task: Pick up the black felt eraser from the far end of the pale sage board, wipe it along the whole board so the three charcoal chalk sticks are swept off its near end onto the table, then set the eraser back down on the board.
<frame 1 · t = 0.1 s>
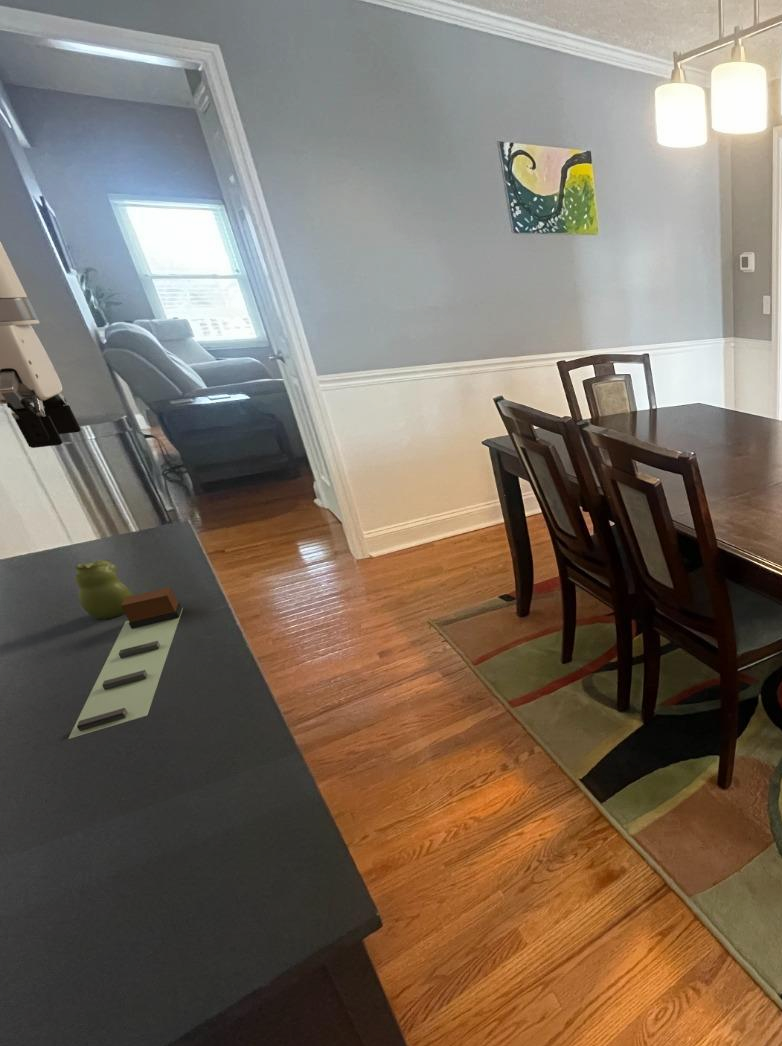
hand: (57, 439, 87), 28 cm above the table, tool pointing down, fingers open, 9 cm apart
board: (138, 668, 82), on the table
pear: (118, 618, 95), on the table
chalk b: (126, 682, 78), point 1 cm above the table, touching board
eraser: (157, 618, 93), point 1 cm above the table, touching board
chalk c: (104, 721, 71), point 1 cm above the table, touching board
chalk a: (140, 651, 84), point 1 cm above the table, touching board
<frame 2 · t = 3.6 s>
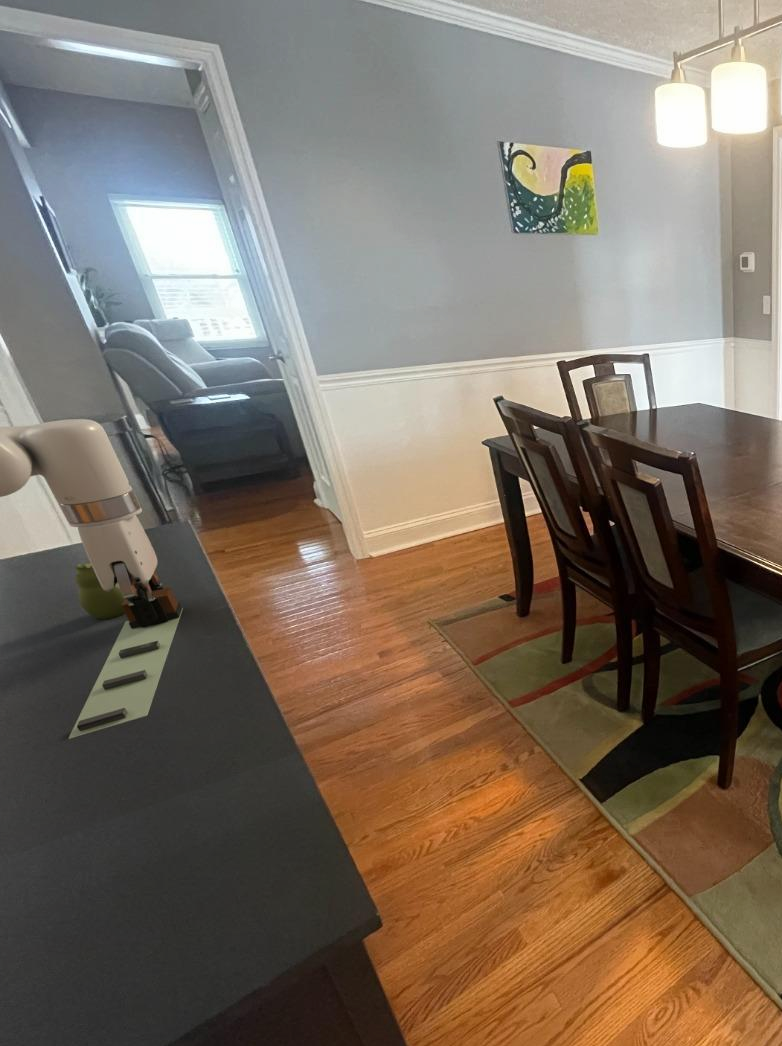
hand: (156, 617, 93), 1 cm above the table, tool pointing down, fingers closed on eraser, 3 cm apart
eraser: (157, 618, 93), point 1 cm above the table, touching board, gripper
everything else where it was.
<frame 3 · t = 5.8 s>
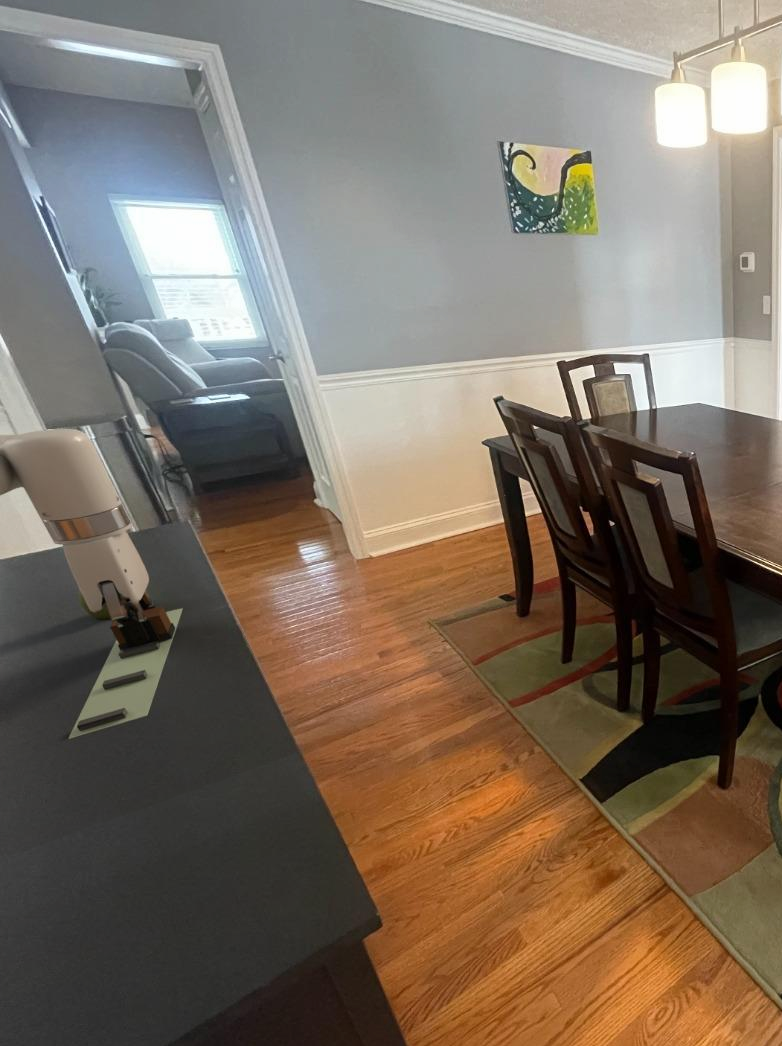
hand: (148, 638, 87), 1 cm above the table, tool pointing down, fingers closed on eraser, 3 cm apart
eraser: (149, 639, 87), point 1 cm above the table, touching gripper
chalk a: (140, 652, 84), point 1 cm above the table, touching gripper
everything else where it was.
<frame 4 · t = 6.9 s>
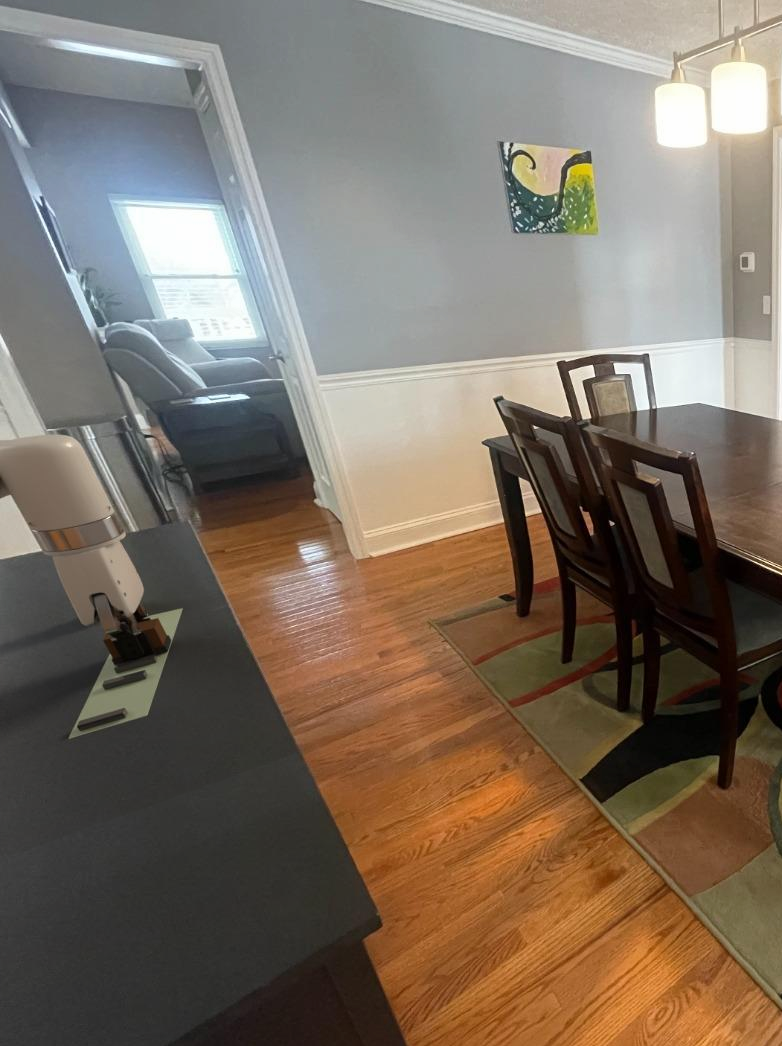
hand: (143, 651, 84), 1 cm above the table, tool pointing down, fingers closed on eraser, 3 cm apart
eraser: (144, 652, 84), point 1 cm above the table, touching gripper
chalk a: (137, 666, 81), point 1 cm above the table, touching board, gripper
everything else where it was.
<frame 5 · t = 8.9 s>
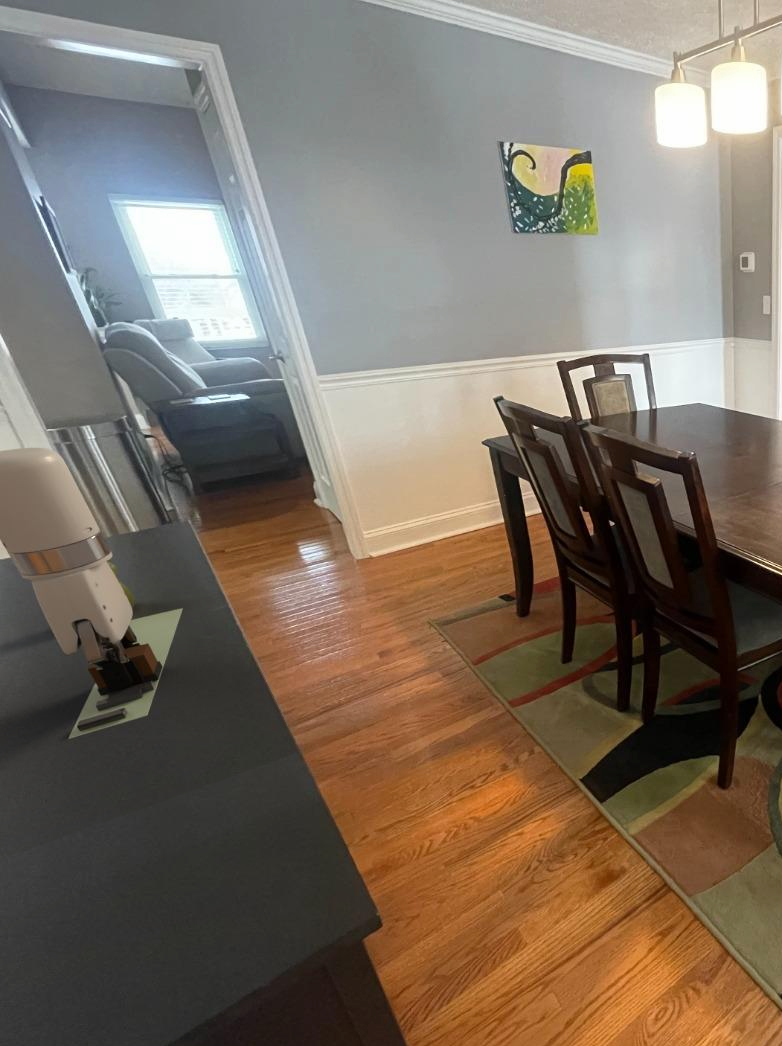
hand: (132, 679, 78), 1 cm above the table, tool pointing down, fingers closed on eraser, 3 cm apart
chalk b: (121, 702, 74), point 1 cm above the table, touching board, chalk a
eraser: (132, 681, 78), point 1 cm above the table, touching gripper
chalk a: (133, 694, 75), point 1 cm above the table, touching chalk b, gripper
everything else where it was.
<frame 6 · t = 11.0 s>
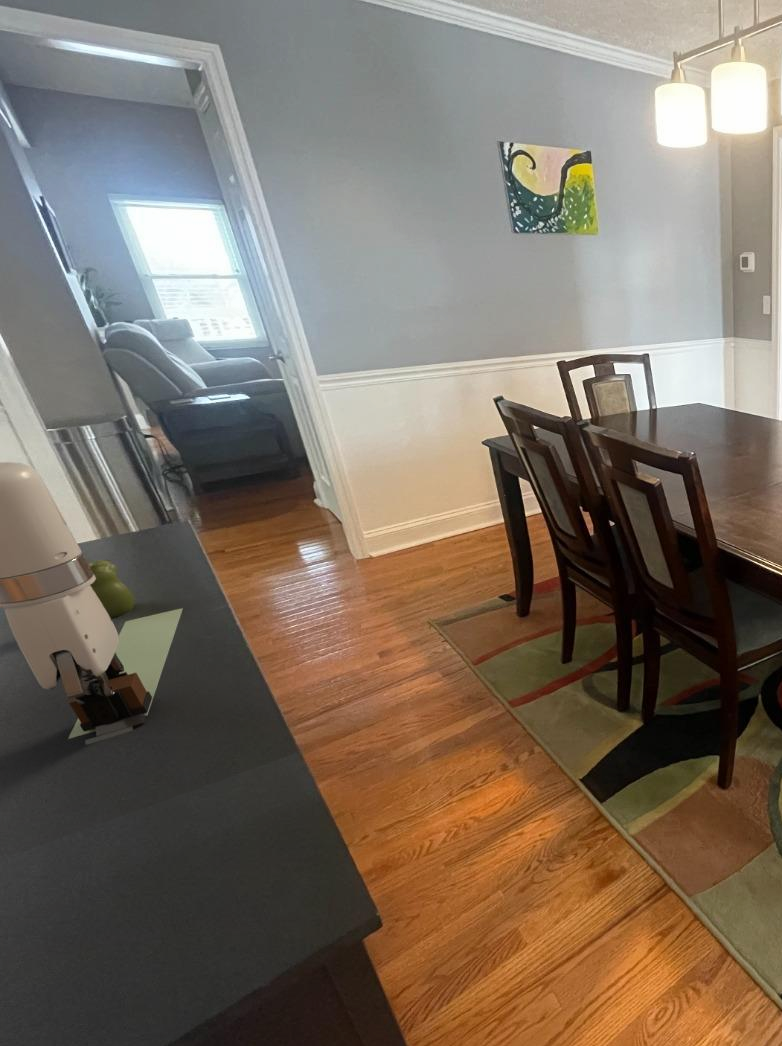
hand: (118, 712, 71), 2 cm above the table, tool pointing down, fingers closed on eraser, 3 cm apart
chalk b: (111, 733, 69), point 1 cm above the table, tilted 131°, touching chalk a, chalk c
eraser: (119, 714, 72), point 1 cm above the table, touching gripper
chalk c: (97, 746, 67), point 1 cm above the table, tilted 180°, touching chalk b
chalk a: (122, 726, 70), point 1 cm above the table, tilted 40°, touching chalk b, gripper
everything else where it was.
when the fingers open (1 cm above the table, at t = 20.4 s): eraser stays where it is, resting on board.
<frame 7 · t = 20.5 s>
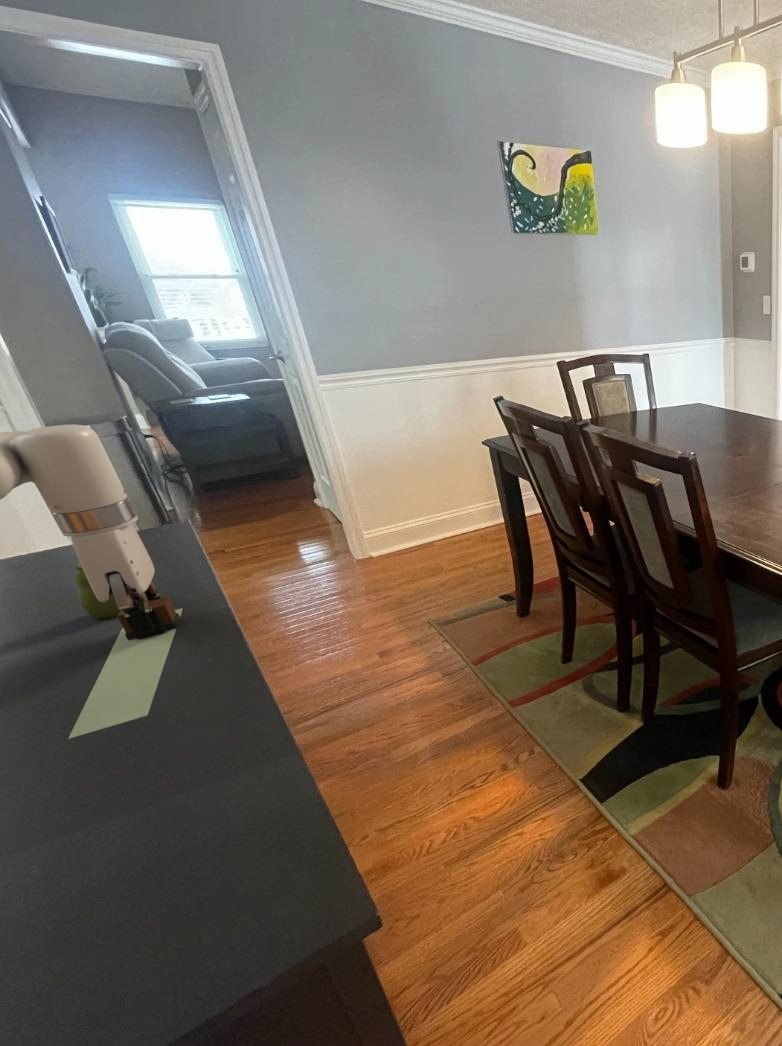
hand: (154, 627, 90), 1 cm above the table, tool pointing down, fingers open, 3 cm apart
chalk b: (102, 760, 65), point 1 cm above the table, tilted 180°
eraser: (155, 629, 90), point 1 cm above the table, touching board
chalk c: (86, 771, 64), point 1 cm above the table, tilted 180°
chalk a: (118, 756, 67), on the table
everything else where it was.
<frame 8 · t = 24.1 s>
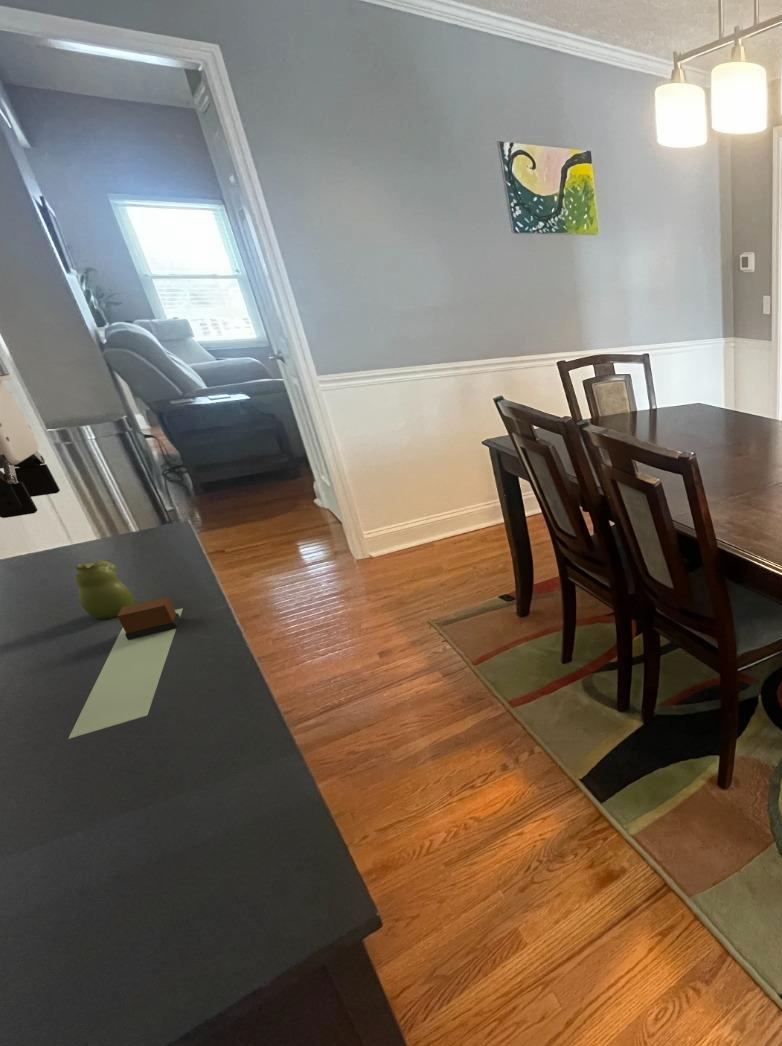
hand: (32, 504, 78), 22 cm above the table, tool pointing down, fingers open, 9 cm apart
nothing on the table moved.
at the end: chalk a inside the target area on the table beside the board (6.8 cm from its centre), on the table; chalk c inside the target area on the table beside the board (4.3 cm from its centre), point 0.8 cm above the table; eraser inside the target area on the board (10.0 cm from its centre), point 1.0 cm above the board's base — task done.
